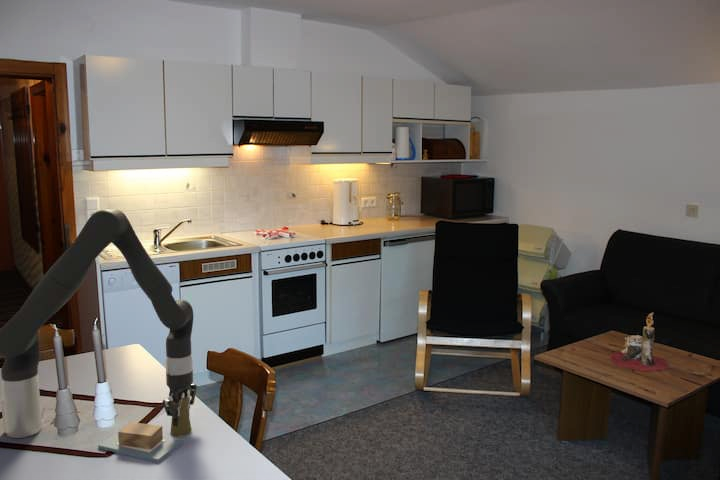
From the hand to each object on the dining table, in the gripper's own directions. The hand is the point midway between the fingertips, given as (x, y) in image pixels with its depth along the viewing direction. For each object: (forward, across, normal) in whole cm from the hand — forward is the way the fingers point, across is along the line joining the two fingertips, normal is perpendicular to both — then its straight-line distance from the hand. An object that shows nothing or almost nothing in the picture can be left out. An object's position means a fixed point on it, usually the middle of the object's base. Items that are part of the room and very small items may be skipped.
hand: (181, 423), depth 183 cm
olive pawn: (+2, 0, 0) cm, 2 cm away
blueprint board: (+2, +12, -5) cm, 13 cm away
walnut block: (+1, +12, -5) cm, 13 cm away
